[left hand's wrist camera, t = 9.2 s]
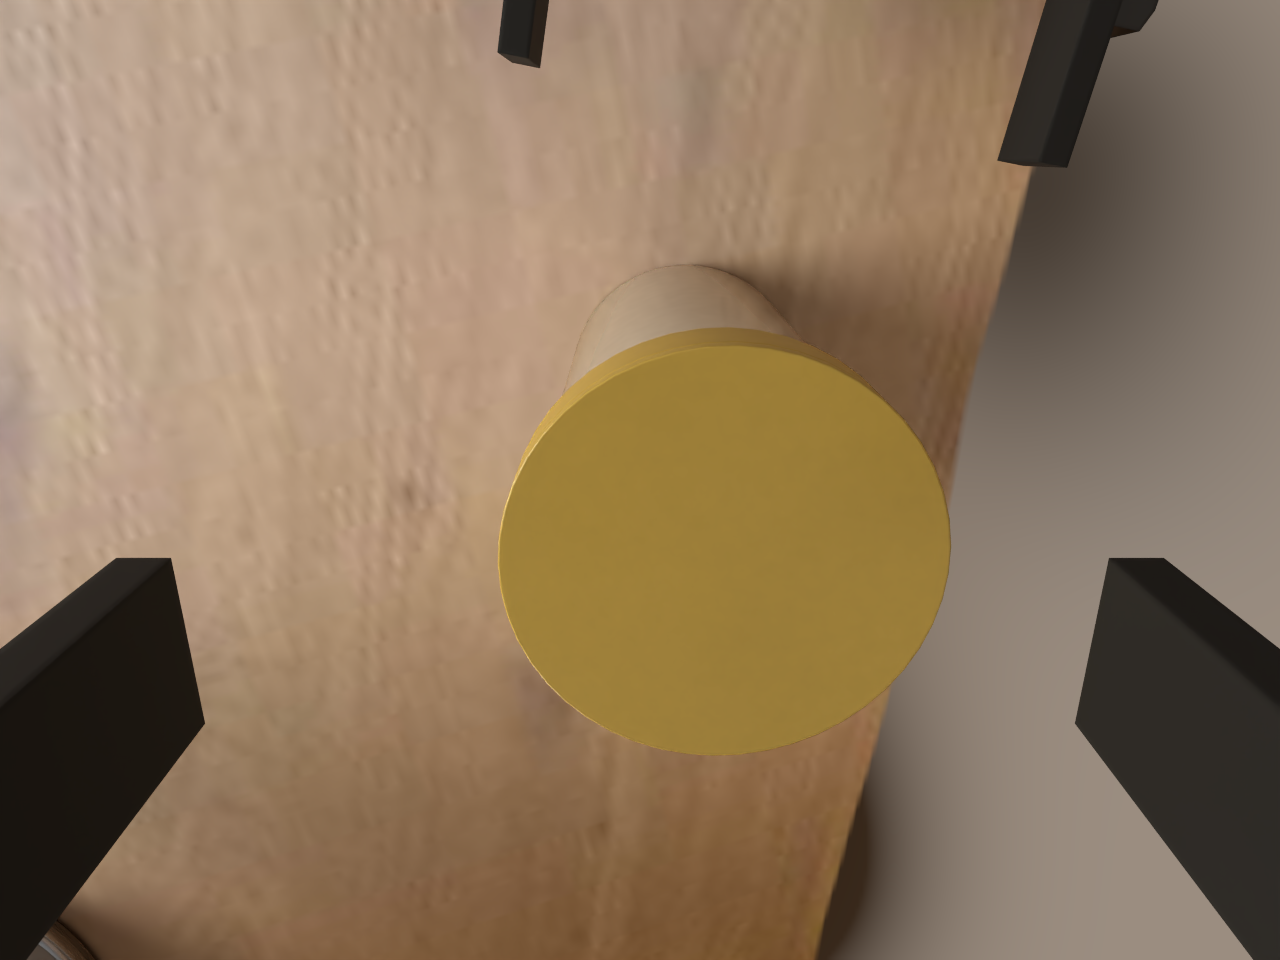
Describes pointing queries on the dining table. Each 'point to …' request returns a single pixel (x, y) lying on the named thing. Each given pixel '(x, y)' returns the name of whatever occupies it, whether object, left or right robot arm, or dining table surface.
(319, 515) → the dining table surface
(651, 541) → the lid
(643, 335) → the jar
